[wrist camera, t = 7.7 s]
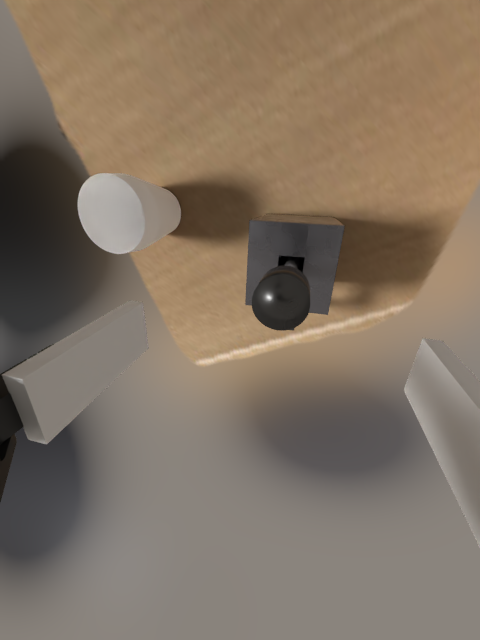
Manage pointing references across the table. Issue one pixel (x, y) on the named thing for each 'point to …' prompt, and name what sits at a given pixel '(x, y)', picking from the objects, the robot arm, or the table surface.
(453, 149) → the table surface
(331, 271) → the grey box with handle
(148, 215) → the cup
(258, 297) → the plunger
